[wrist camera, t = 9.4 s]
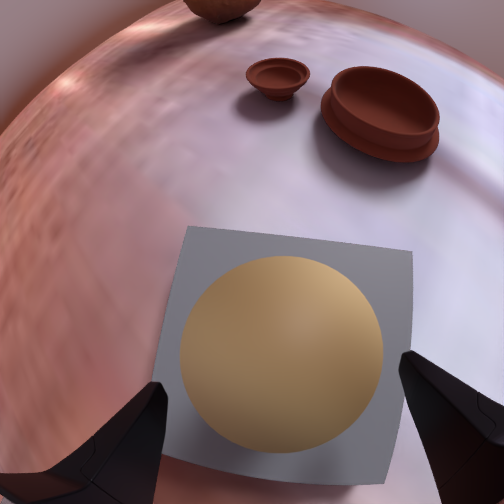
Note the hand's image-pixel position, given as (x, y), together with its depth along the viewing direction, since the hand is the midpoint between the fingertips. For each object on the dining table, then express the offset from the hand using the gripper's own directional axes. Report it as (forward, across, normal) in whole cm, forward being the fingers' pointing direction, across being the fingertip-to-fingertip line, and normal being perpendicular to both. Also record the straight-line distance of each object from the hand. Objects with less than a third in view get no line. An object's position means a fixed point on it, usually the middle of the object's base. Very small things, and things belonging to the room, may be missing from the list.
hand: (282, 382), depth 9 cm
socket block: (+7, 0, +5) cm, 8 cm away
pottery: (+22, -9, -10) cm, 25 cm away
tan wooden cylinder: (+7, 0, +5) cm, 8 cm away
